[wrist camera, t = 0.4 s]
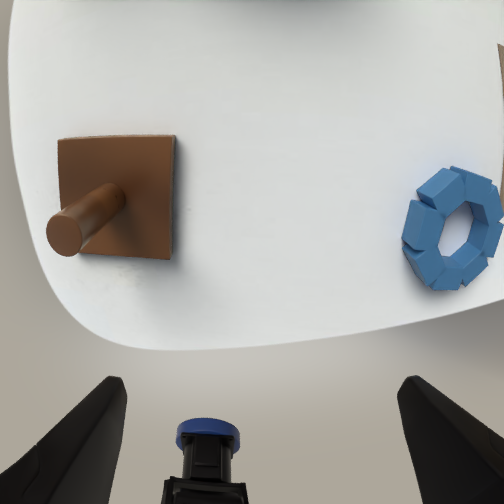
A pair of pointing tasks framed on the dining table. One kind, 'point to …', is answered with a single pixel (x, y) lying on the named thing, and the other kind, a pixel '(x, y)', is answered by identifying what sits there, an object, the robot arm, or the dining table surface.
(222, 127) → the dining table surface
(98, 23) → the dining table surface
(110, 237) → the peg stand
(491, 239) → the blue ring
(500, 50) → the platform
